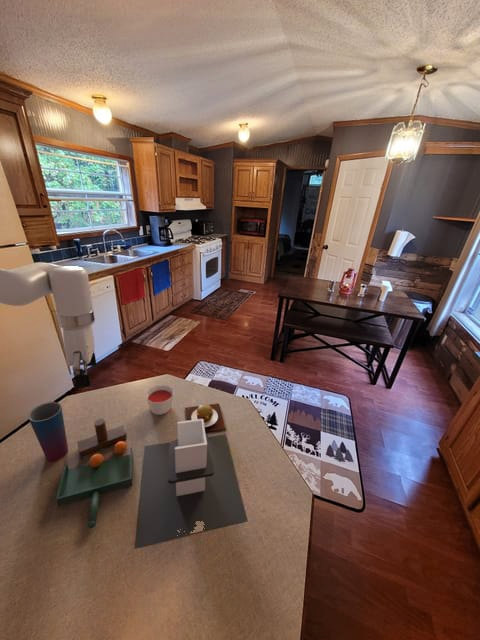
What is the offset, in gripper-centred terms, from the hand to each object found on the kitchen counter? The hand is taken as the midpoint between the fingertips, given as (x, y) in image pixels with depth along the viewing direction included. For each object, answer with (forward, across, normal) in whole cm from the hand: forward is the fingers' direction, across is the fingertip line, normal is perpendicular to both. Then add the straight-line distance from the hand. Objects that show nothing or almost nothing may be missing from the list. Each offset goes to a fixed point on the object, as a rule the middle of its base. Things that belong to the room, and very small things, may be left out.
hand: (87, 375), depth 69 cm
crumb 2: (+19, +9, +7) cm, 22 cm away
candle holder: (+21, +23, +24) cm, 39 cm away
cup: (+21, +5, -9) cm, 24 cm away
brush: (+21, +5, +2) cm, 22 cm away
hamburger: (+21, +4, +32) cm, 39 cm away
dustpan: (+21, +20, +2) cm, 29 cm away
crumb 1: (+19, +12, +1) cm, 23 cm away
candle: (+21, -6, +19) cm, 29 cm away
